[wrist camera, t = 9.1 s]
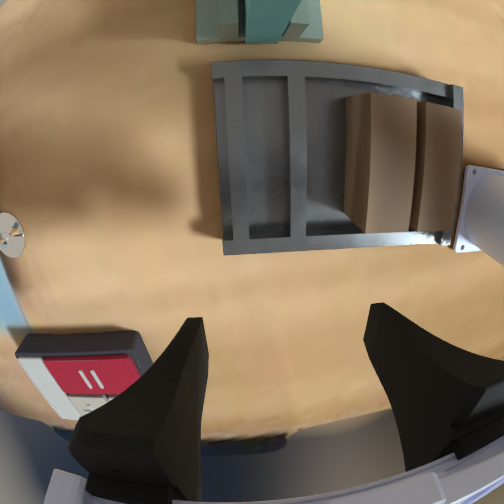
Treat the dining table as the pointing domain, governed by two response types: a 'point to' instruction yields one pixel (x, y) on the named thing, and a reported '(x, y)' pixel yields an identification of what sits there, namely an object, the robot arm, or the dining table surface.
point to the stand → (232, 22)
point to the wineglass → (11, 236)
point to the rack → (300, 152)
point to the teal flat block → (267, 19)
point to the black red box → (83, 368)
